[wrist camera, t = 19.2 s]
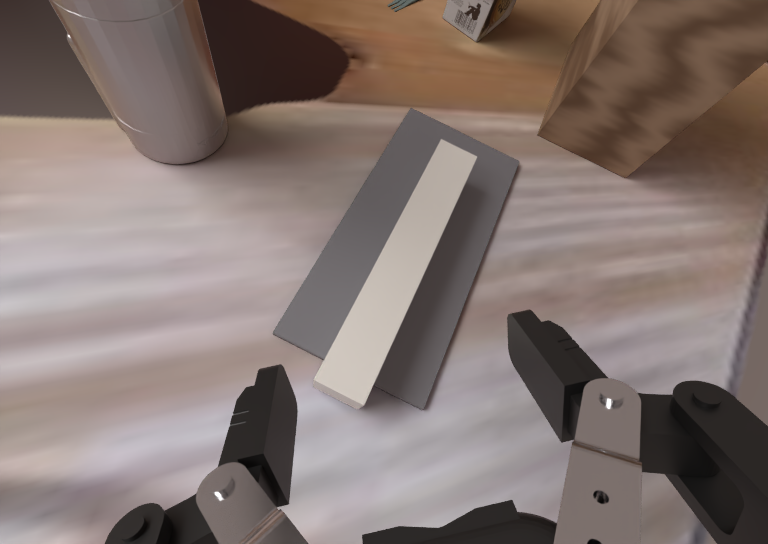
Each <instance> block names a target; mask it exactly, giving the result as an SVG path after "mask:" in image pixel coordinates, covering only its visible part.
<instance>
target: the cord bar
mask: <svg viewBox="0 0 768 544" xmlns="http://www.w3.org/2000/svg"><path fill="white" fill-rule="evenodd" d="M476 159H477V156H475V155H473V154H471V153H469V152H467V151H465V150H463V149H461V148H459V147H457V146H455V145H452V144H450V143H448V142H446V141H444V140H442V139H441V140H440V142H439V144H438V146H437V148H436V150H435V152H434V154H433V156H432V157H431V159H430V161H429V163H428V165H427V167H426V169H425V171H424V173H423V174H422V176H421V178H420V180H419V182H418V184H417V186H416V188H415V190H414V191H413V193H412V195H411V197H410V199H409V201H408V203H407V205H406V207H405V208H404V210H403V212H402V214H401V216H400V218H399V220H398V222H397V224H396V225H395V227H394V229H393V231H392V233H391V235H390V237H389V239H388V241H387V242H386V244H385V246H384V248H383V250H382V252H381V254H380V256H379V258H378V259H377V261H376V263H375V265H374V267H373V269H372V271H371V273H370V275H369V276H368V278H367V280H366V282H365V284H364V286H363V288H362V290H361V292H360V293H359V295H358V297H357V299H356V301H355V303H354V305H353V307H352V308H351V310H350V312H349V314H348V316H347V318H346V320H345V322H344V324H343V325H342V327H341V329H340V331H339V333H338V335H337V337H336V339H335V341H334V342H333V344H332V346H331V348H330V350H329V352H328V354H327V356H326V358H325V359H324V361H323V363H322V365H321V367H320V369H319V371H318V373H317V375H316V376H315V378H314V382H313V387H314V388H316V389H318V390H320V391H322V392H324V393H326V394H328V395H330V396H332V397H333V398H335V399H337V400H339V401H341V402H343V403H345V404H347V405H349V406H351V407H353V408H355V409H357V410H358V409H359V408H361V407H362V406H364V404H365V402H366V400H367V398H368V396H369V393H370V391H371V389H372V387H373V385H374V382H375V380H376V378H377V376H378V374H379V372H380V369H381V367H382V365H383V363H384V361H385V358H386V356H387V354H388V352H389V350H390V347H391V345H392V343H393V341H394V339H395V336H396V334H397V332H398V330H399V328H400V325H401V323H402V321H403V319H404V317H405V314H406V312H407V310H408V308H409V306H410V303H411V301H412V299H413V297H414V295H415V293H416V290H417V288H418V286H419V284H420V282H421V279H422V277H423V275H424V273H425V271H426V268H427V266H428V264H429V262H430V260H431V257H432V255H433V253H434V251H435V249H436V246H437V244H438V242H439V240H440V238H441V235H442V233H443V231H444V229H445V227H446V224H447V222H448V220H449V218H450V216H451V214H452V211H453V209H454V207H455V205H456V203H457V200H458V198H459V196H460V194H461V192H462V189H463V187H464V185H465V183H466V181H467V178H468V176H469V174H470V172H471V170H472V167H473V165H474V163H475V161H476Z"/></svg>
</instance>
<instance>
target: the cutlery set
mask: <svg viewBox="0 0 768 544" xmlns="http://www.w3.org/2000/svg"><path fill="white" fill-rule="evenodd" d="M416 1H418V0H395V1H393V2H392V3H390V4H388V7H389V6H391V5H394V4H396V3H397V4H396V5H394V6H393V7H391V9H394V8H396V7H398V6H400V5H401V6H400V7H399V8H397V9H395V10H394V11H395V12H396V11H398V10H400V9H402V8H404V7H406V6H408V5H410V4H412V3H414V2H416ZM398 2H399V3H398Z"/></svg>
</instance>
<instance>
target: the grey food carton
mask: <svg viewBox="0 0 768 544" xmlns="http://www.w3.org/2000/svg"><path fill="white" fill-rule="evenodd" d="M515 2H516V0H448V1H447V5H446V8H445V11H444V14H443V19H445V20H446V21H448V22H449V23H450V24H452V25H453V26H455V27H456V28H457V29H459V30H460V31H462V32H463V33H464V34H466V35H467V36H468V37H470V38H471V39H473V40H474V41H475V42H478V41H479V40H480V39H482V38H483V37H484V36H485V35H487V34H488V33H489V32H490V31H491V30H492V29H494V28H495V27H496V26H497V25H498V24H500V23H501V22H502V21H503V20H505V19H506V18H507V17H508V16H509V15H510V13H511V11H512V8H513V6H514V4H515Z"/></svg>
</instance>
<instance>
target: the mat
mask: <svg viewBox="0 0 768 544" xmlns="http://www.w3.org/2000/svg"><path fill="white" fill-rule="evenodd" d="M441 139H442V140H444V141H446V142H448V143H450V144H452V145H455V146H457V147H459V148H461V149H463V150H465V151H467V152H469V153H471V154H473V155H475V156H477V159H476V161H475V163H474V165H473V167H472V170H471V172H470V174H469V176H468V178H467V181H466V183H465V185H464V187H463V189H462V192H461V194H460V196H459V198H458V200H457V203H456V205H455V207H454V209H453V211H452V214H451V216H450V218H449V220H448V222H447V224H446V227H445V229H444V231H443V233H442V235H441V238H440V240H439V242H438V244H437V246H436V249H435V251H434V253H433V255H432V257H431V260H430V262H429V264H428V266H427V268H426V271H425V273H424V275H423V277H422V279H421V282H420V284H419V286H418V288H417V290H416V293H415V295H414V297H413V299H412V301H411V303H410V306H409V308H408V310H407V312H406V314H405V317H404V319H403V321H402V323H401V325H400V328H399V330H398V332H397V334H396V336H395V339H394V341H393V343H392V345H391V347H390V350H389V352H388V354H387V356H386V358H385V361H384V363H383V365H382V367H381V369H380V372H379V374H378V376H377V378H376V380H375V382H374V385H373V386H375V387H377V388H379V389H381V390H383V391H385V392H387V393H389V394H391V395H393V396H395V397H397V398H399V399H401V400H403V401H405V402H407V403H409V404H411V405H413V406H415V407H417V408H419V409H421V410H423V409H424V407H425V404H426V402H427V399H428V396H429V394H430V391H431V389H432V386H433V384H434V381H435V378H436V376H437V373H438V371H439V368H440V365H441V363H442V360H443V358H444V355H445V353H446V350H447V347H448V345H449V342H450V340H451V337H452V334H453V332H454V329H455V327H456V324H457V322H458V319H459V316H460V314H461V311H462V309H463V306H464V303H465V301H466V298H467V296H468V293H469V291H470V288H471V285H472V283H473V280H474V278H475V275H476V272H477V270H478V267H479V265H480V262H481V260H482V257H483V254H484V252H485V249H486V247H487V244H488V241H489V239H490V236H491V234H492V231H493V229H494V226H495V223H496V221H497V218H498V216H499V213H500V211H501V208H502V205H503V203H504V200H505V198H506V195H507V192H508V190H509V187H510V185H511V182H512V180H513V177H514V174H515V172H516V169H517V167H518V164H519V161H518V160H516V159H514V158H512V157H510V156H508V155H506V154H504V153H502V152H500V151H498V150H496V149H494V148H492V147H490V146H487V145H485V144H483V143H481V142H479V141H477V140H475V139H473V138H471V137H469V136H467V135H465V134H463V133H461V132H459V131H457V130H455V129H453V128H451V127H449V126H447V125H445V124H443V123H441V122H439V121H437V120H435V119H433V118H431V117H429V116H427V115H425V114H423V113H421V112H419V111H416V110H414V109H412V108H411V109H410V110H409V112H408V113H407V115H406V117H405V118H404V120H403V122H402V123H401V125H400V126H399V128H398V130H397V131H396V133H395V135H394V136H393V138H392V139H391V141H390V143H389V144H388V146H387V148H386V149H385V151H384V152H383V154H382V156H381V157H380V159H379V161H378V162H377V164H376V165H375V167H374V169H373V170H372V172H371V174H370V175H369V177H368V178H367V180H366V182H365V183H364V185H363V187H362V188H361V190H360V191H359V193H358V195H357V196H356V198H355V200H354V201H353V203H352V204H351V206H350V208H349V209H348V211H347V213H346V214H345V216H344V217H343V219H342V221H341V222H340V224H339V226H338V227H337V229H336V230H335V232H334V234H333V235H332V237H331V239H330V240H329V242H328V243H327V245H326V247H325V248H324V250H323V252H322V253H321V255H320V256H319V258H318V260H317V261H316V263H315V265H314V266H313V268H312V269H311V271H310V273H309V274H308V276H307V278H306V279H305V281H304V282H303V284H302V286H301V287H300V289H299V291H298V292H297V294H296V295H295V297H294V299H293V300H292V302H291V304H290V305H289V307H288V308H287V310H286V312H285V313H284V315H283V317H282V318H281V320H280V321H279V323H278V325H277V326H276V328H275V330H274V331H273V335H275V336H277V337H279V338H281V339H283V340H285V341H287V342H289V343H291V344H293V345H295V346H297V347H299V348H301V349H303V350H305V351H307V352H309V353H311V354H312V355H314V356H316V357H318V358H320V359H322V360H324V359H325V358H326V356H327V354H328V352H329V350H330V348H331V346H332V344H333V342H334V341H335V339H336V337H337V335H338V333H339V331H340V329H341V327H342V325H343V324H344V322H345V320H346V318H347V316H348V314H349V312H350V310H351V308H352V307H353V305H354V303H355V301H356V299H357V297H358V295H359V293H360V292H361V290H362V288H363V286H364V284H365V282H366V280H367V278H368V276H369V275H370V273H371V271H372V269H373V267H374V265H375V263H376V261H377V259H378V258H379V256H380V254H381V252H382V250H383V248H384V246H385V244H386V242H387V241H388V239H389V237H390V235H391V233H392V231H393V229H394V227H395V225H396V224H397V222H398V220H399V218H400V216H401V214H402V212H403V210H404V208H405V207H406V205H407V203H408V201H409V199H410V197H411V195H412V193H413V191H414V190H415V188H416V186H417V184H418V182H419V180H420V178H421V176H422V174H423V173H424V171H425V169H426V167H427V165H428V163H429V161H430V159H431V157H432V156H433V154H434V152H435V150H436V148H437V146H438V144H439V142H440V140H441Z"/></svg>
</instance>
